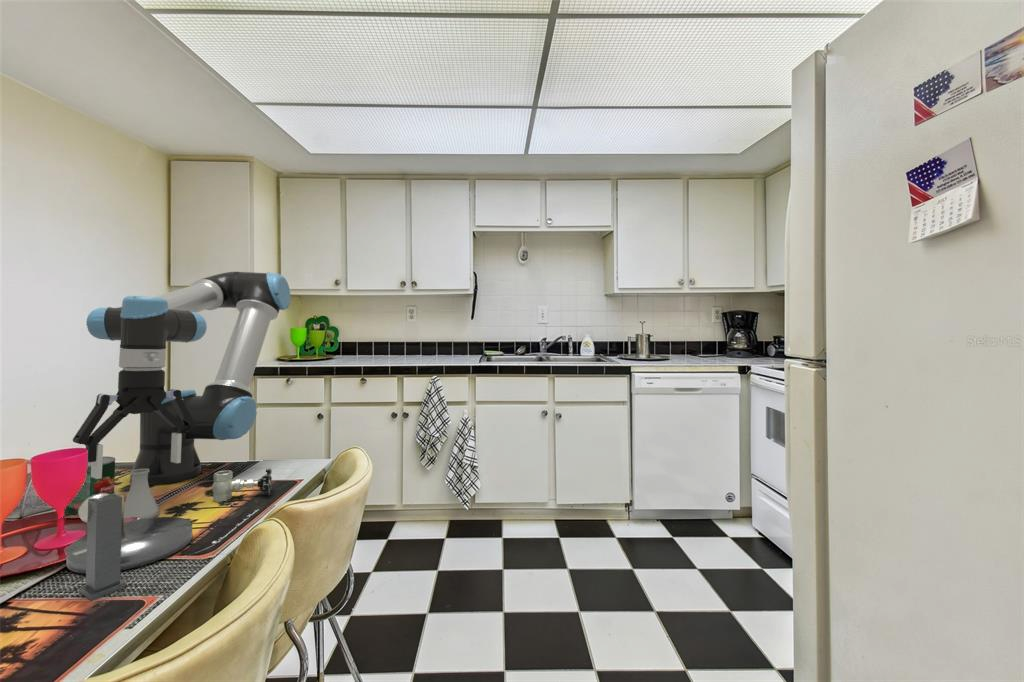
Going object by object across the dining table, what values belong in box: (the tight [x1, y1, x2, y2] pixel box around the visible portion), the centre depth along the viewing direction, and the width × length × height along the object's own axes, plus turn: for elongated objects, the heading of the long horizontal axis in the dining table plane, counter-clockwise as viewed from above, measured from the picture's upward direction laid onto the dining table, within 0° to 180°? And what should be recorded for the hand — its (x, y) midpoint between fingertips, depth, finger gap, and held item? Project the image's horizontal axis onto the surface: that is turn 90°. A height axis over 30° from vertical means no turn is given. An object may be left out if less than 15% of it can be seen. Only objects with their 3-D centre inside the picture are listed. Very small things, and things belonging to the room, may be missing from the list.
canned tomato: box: [65, 456, 116, 519], centre depth 94 cm, size 8×8×11 cm
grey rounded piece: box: [65, 492, 193, 574], centre depth 78 cm, size 17×17×8 cm
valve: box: [211, 468, 273, 503], centre depth 104 cm, size 7×7×12 cm
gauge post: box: [78, 493, 127, 601], centre depth 66 cm, size 4×5×14 cm
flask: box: [124, 469, 161, 519], centre depth 92 cm, size 7×7×10 cm
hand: (138, 469), depth 91 cm, fingers open, 13 cm apart
